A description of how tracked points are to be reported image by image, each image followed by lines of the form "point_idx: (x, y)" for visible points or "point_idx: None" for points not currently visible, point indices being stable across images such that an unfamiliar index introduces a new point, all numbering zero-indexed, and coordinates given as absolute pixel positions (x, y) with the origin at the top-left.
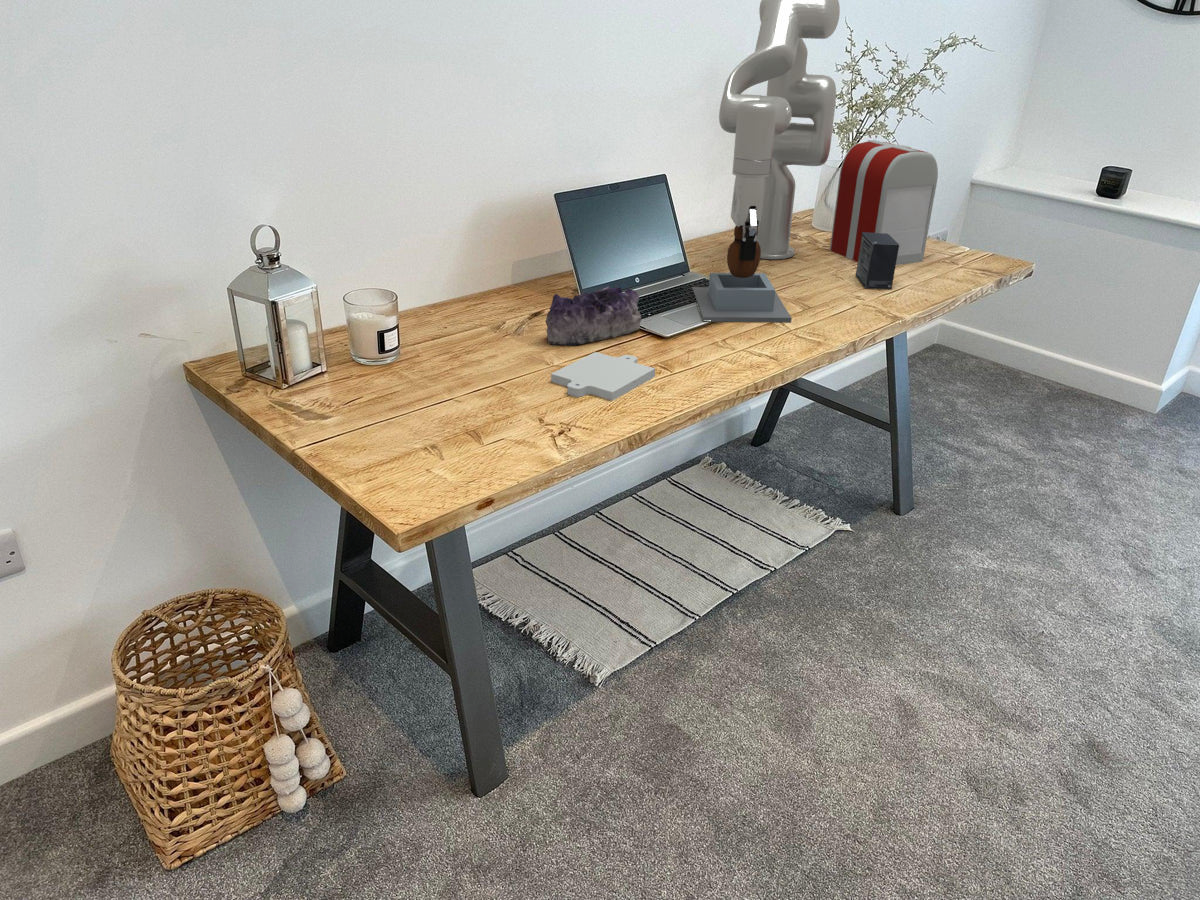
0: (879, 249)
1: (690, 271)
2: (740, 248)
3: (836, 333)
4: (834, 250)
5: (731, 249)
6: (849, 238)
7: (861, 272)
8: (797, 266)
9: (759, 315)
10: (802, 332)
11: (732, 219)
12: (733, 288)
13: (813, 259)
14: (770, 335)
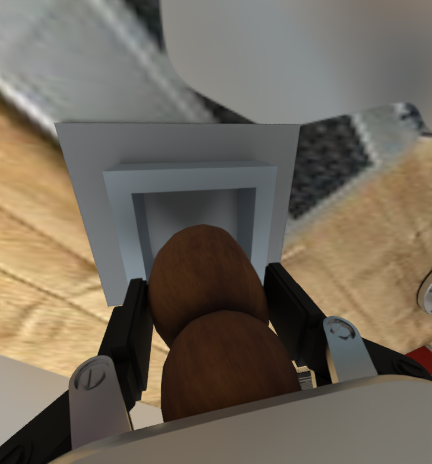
0: None
1: (423, 138)
2: (121, 314)
3: (72, 354)
4: (419, 351)
5: (179, 265)
6: None
7: (309, 385)
8: (382, 313)
9: (107, 256)
10: (58, 314)
11: (317, 403)
12: (128, 221)
13: (401, 329)
14: (15, 266)
